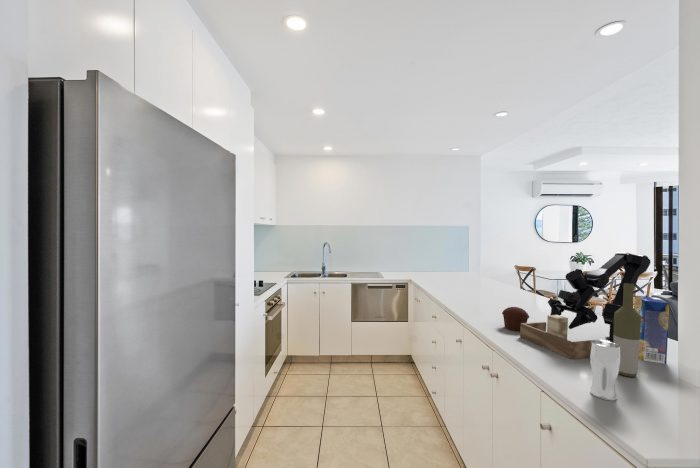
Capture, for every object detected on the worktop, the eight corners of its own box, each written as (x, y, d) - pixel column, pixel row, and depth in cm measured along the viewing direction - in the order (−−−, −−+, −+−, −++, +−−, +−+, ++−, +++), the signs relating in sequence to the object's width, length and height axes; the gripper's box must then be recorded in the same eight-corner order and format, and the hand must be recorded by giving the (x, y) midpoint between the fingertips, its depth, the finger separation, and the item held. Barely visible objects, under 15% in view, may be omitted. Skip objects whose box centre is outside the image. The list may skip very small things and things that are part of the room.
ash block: (556, 343, 140) (557, 314, 140) (566, 347, 135) (568, 318, 135) (546, 344, 139) (547, 315, 138) (556, 348, 134) (558, 318, 134)
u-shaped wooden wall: (543, 335, 151) (544, 321, 151) (598, 356, 127) (599, 340, 127) (520, 337, 147) (520, 323, 147) (571, 359, 123) (572, 343, 123)
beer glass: (582, 389, 100) (584, 339, 100) (604, 389, 100) (606, 339, 100) (601, 401, 93) (604, 348, 93) (625, 401, 94) (627, 347, 93)
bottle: (640, 380, 107) (645, 286, 106) (612, 374, 111) (616, 284, 110) (636, 372, 113) (640, 283, 112) (610, 367, 117) (613, 281, 116)
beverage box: (654, 353, 131) (657, 297, 130) (666, 364, 121) (669, 303, 120) (632, 350, 134) (634, 295, 133) (642, 360, 124) (645, 300, 123)
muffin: (530, 328, 161) (530, 307, 161) (527, 334, 152) (528, 312, 151) (503, 323, 167) (503, 303, 167) (499, 329, 158) (500, 308, 158)
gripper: (552, 280, 147) (530, 306, 144) (593, 288, 129) (569, 317, 126) (565, 297, 149) (544, 323, 147) (607, 307, 132) (584, 337, 129)
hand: (559, 324), depth 137 cm, fingers open, 9 cm apart
